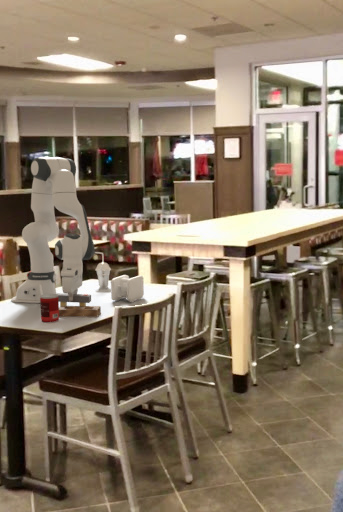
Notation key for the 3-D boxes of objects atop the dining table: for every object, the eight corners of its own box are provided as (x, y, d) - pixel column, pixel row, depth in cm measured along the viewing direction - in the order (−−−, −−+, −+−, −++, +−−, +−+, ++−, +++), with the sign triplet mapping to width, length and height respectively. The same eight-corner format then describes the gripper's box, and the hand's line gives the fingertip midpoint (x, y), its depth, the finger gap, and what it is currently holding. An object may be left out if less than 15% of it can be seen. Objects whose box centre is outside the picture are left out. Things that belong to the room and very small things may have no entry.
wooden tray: (56, 316, 302) (56, 309, 302) (61, 312, 310) (61, 305, 310) (97, 316, 301) (97, 309, 300) (100, 312, 309) (100, 306, 308)
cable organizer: (129, 303, 328) (128, 279, 326) (110, 302, 332) (109, 278, 331) (144, 298, 341) (143, 275, 340) (125, 296, 346) (125, 273, 344)
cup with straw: (112, 288, 368) (111, 251, 365) (95, 289, 366) (94, 252, 363) (110, 285, 376) (109, 249, 373) (93, 286, 374) (92, 250, 371)
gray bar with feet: (54, 307, 313) (54, 294, 312) (57, 305, 317) (57, 292, 316) (88, 308, 311) (88, 295, 310) (91, 306, 315) (91, 293, 314)
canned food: (60, 318, 298) (59, 293, 297) (57, 322, 291) (57, 297, 289) (42, 318, 298) (41, 293, 297) (39, 322, 290) (38, 297, 289)
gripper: (72, 265, 322) (72, 294, 324) (59, 272, 302) (59, 303, 304) (85, 266, 321) (85, 295, 323) (73, 273, 301) (73, 304, 303)
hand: (72, 299), depth 314 cm, fingers closed on gray bar with feet, 4 cm apart
